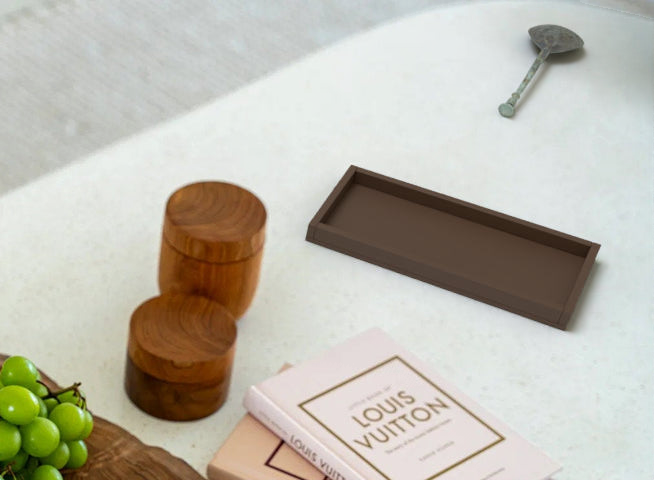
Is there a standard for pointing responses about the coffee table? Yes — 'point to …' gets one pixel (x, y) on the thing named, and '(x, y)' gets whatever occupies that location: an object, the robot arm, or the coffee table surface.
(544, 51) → the soupspoon
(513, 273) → the cutlery tray
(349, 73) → the coffee table surface
